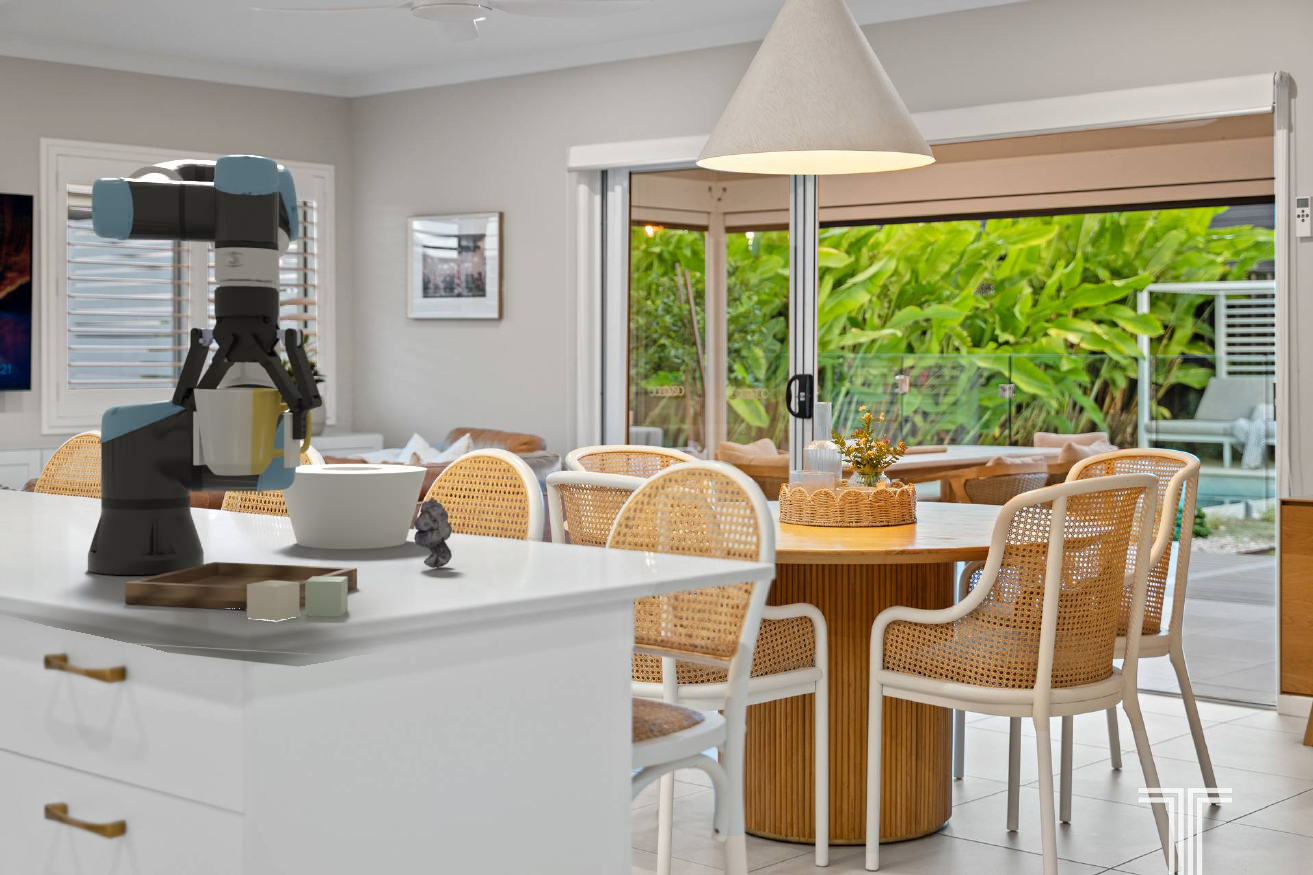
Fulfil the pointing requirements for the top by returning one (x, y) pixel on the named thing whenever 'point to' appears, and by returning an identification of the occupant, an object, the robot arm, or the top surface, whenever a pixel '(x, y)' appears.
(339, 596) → the sage block
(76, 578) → the top surface
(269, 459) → the mug
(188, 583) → the tray
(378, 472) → the bowl
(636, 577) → the top surface
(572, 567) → the top surface
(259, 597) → the cream block
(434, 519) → the grey stone bust
